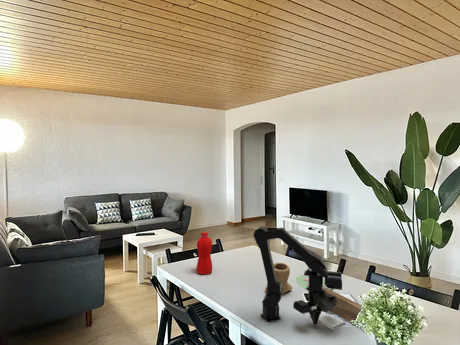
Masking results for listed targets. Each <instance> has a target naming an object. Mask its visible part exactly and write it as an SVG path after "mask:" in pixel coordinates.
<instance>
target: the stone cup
mask: <svg viewBox="0 0 460 345" xmlns="http://www.w3.org/2000/svg"><path fill="white" fill-rule="evenodd" d="M273 264H274V269H275V273H276V277H277V279H278V281H279V282H280V281H282V286H283V289H284V291H283V294H285V293H286V292H289V291H291V290H292V289H293V286H292V285H290V283H289V282H288V280H289V278H290V272H291V271H290V269H291V268H290V266H289V265H288V264H286V263H285V262H275V263H273ZM264 290H265V292H267V286H266V287H265V289H264Z"/></svg>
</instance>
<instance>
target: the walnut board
mask: <svg viewBox="0 0 460 345" xmlns="http://www.w3.org/2000/svg"><path fill="white" fill-rule="evenodd" d="M323 290H325V294H329V295H331V296H334V297H335V298H336V300H337V305H336V306H335V307H333V309H332V311H330V312H332V313H333V314H334V315H336V316H338V317H340V318H341V319H344V320H345V321H347V322H348V323H350V321H351V320H356V318H357V315H358V313H359V312H360V311H361V306H363V305H362V304H360V303H358V302H355V301H354V300H351V299H350V298H348V297H345V296H344V295H341V294H339V293H337V292H335V291H333V289H331V290H330V289H328V288H325V287H324V288H323Z"/></svg>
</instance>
